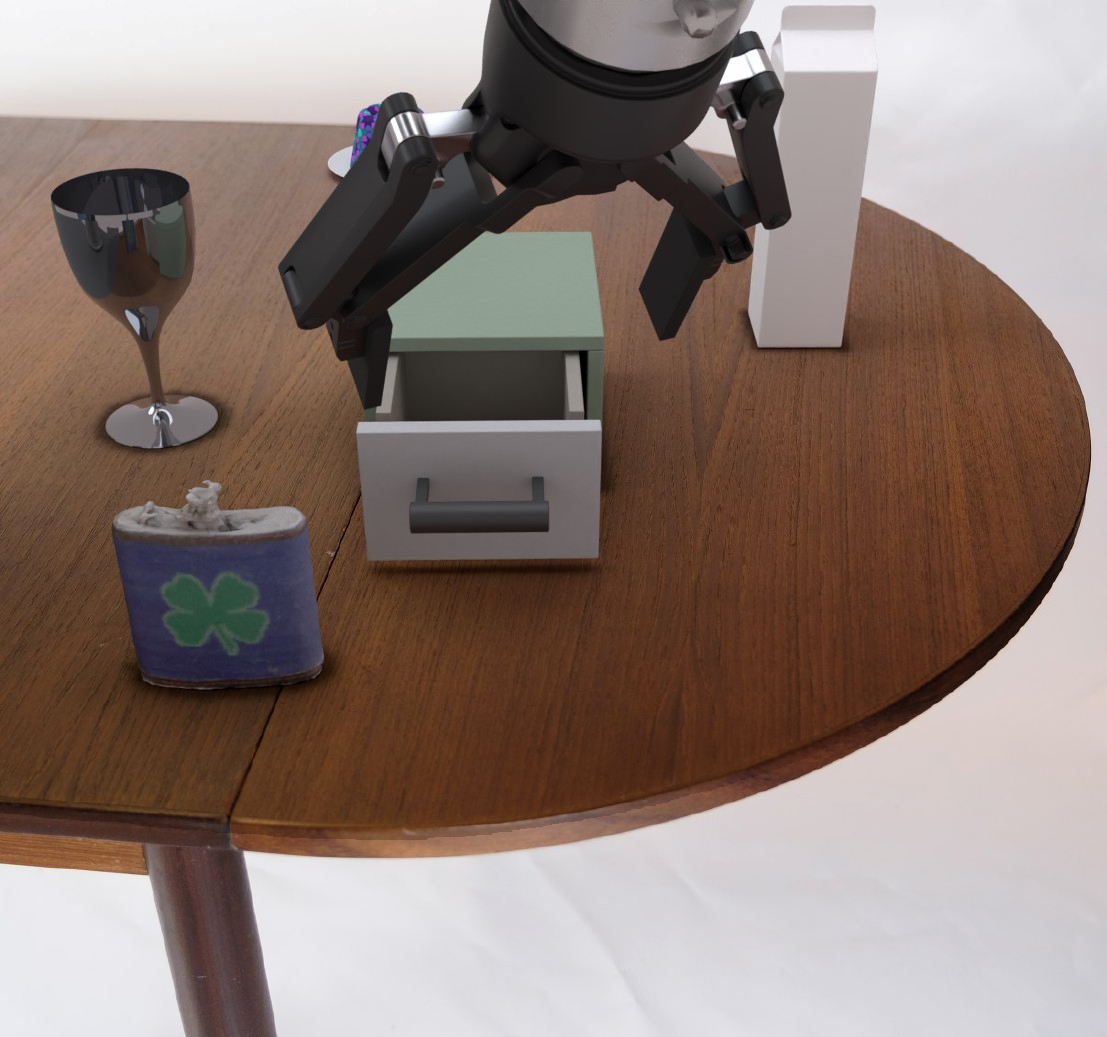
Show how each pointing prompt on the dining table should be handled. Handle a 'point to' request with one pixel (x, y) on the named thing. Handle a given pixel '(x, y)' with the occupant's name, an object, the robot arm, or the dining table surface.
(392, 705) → the dining table surface
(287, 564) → the flask
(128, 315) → the wine glass
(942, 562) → the dining table surface
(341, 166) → the pudding
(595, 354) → the cabinet
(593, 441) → the drawer
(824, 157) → the milk
